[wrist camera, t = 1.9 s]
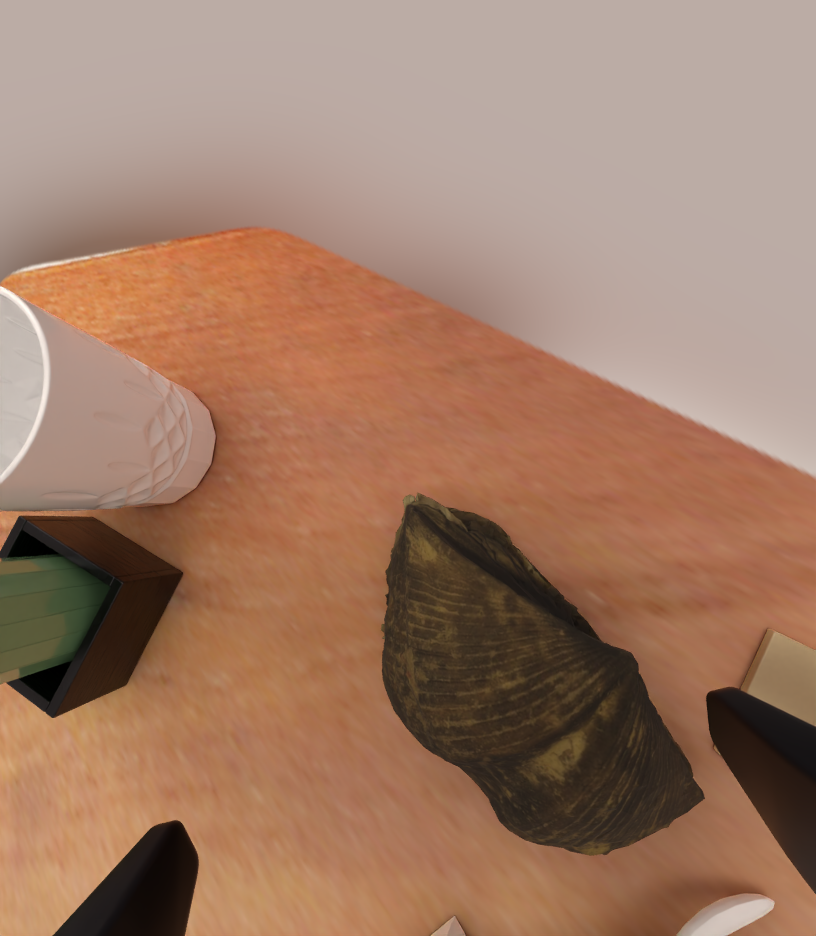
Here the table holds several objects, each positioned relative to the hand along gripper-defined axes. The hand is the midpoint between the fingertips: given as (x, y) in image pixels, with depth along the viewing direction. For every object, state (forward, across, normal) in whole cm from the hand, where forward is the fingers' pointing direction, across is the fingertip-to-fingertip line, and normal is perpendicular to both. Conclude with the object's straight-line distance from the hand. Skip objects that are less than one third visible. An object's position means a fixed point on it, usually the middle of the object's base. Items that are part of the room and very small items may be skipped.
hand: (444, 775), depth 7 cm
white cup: (+19, +12, -5) cm, 23 cm away
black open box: (+16, +17, +2) cm, 23 cm away
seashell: (+11, -2, +8) cm, 14 cm away
